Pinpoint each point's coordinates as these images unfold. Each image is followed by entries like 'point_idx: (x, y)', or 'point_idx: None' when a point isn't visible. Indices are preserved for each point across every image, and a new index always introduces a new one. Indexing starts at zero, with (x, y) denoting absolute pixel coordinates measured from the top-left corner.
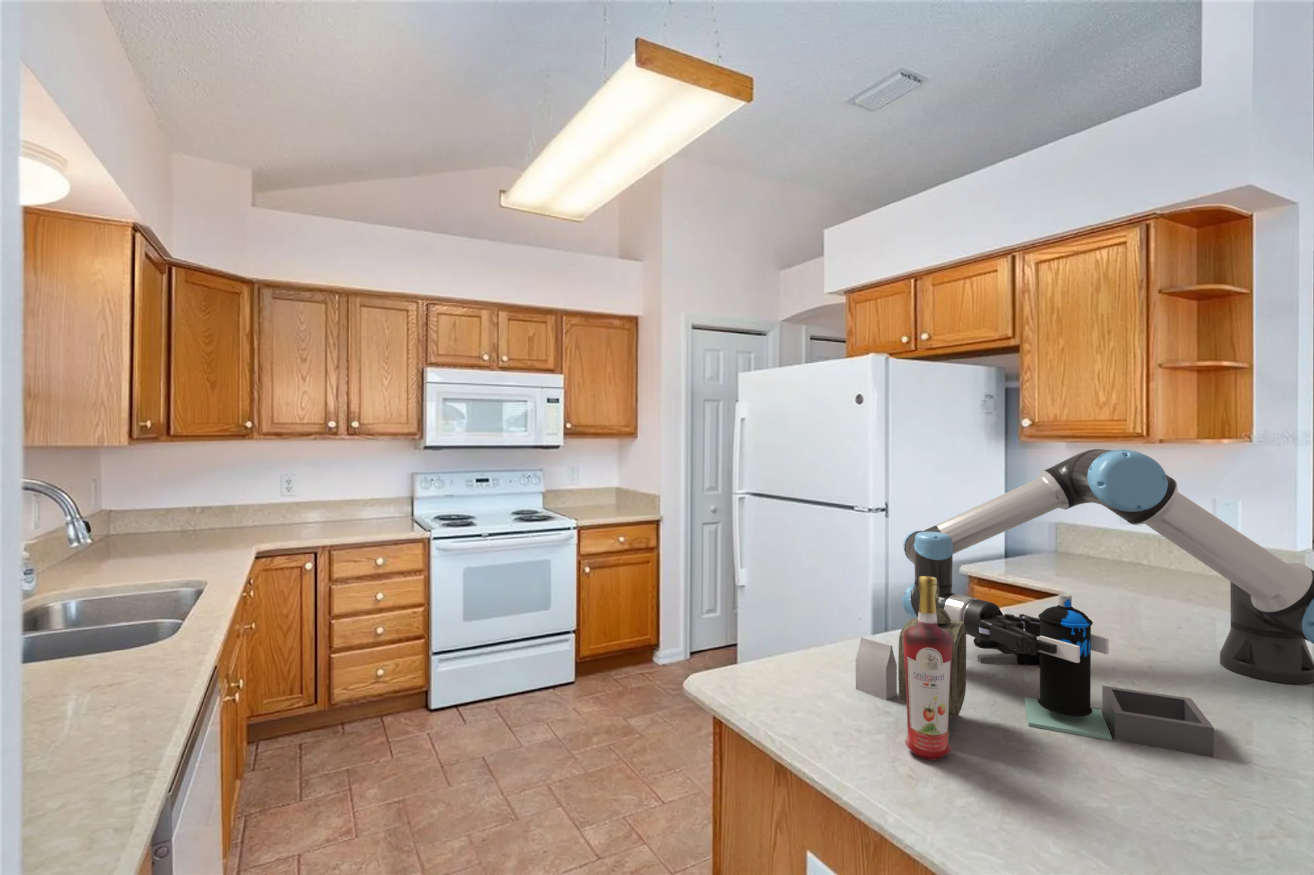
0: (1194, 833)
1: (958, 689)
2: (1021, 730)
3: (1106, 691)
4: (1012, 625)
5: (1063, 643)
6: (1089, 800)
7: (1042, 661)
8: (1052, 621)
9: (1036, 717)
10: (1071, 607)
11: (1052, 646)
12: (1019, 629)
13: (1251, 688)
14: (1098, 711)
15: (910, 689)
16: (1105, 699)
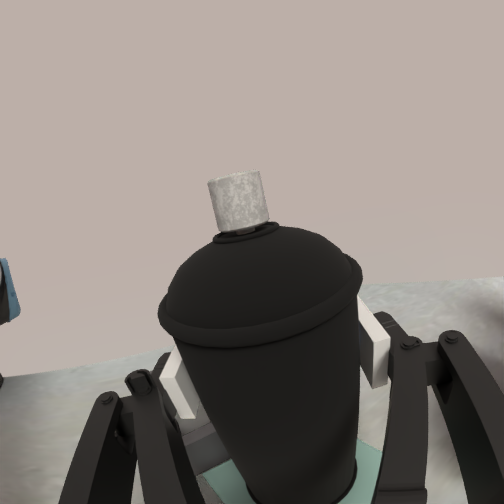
0: (396, 298)
1: None
2: (433, 453)
3: (197, 438)
4: (395, 490)
5: (358, 297)
6: (449, 320)
7: (355, 425)
8: (351, 259)
9: (372, 484)
10: (226, 233)
11: (385, 314)
12: (403, 429)
13: (16, 395)
14: (216, 470)
15: None
16: (208, 446)
